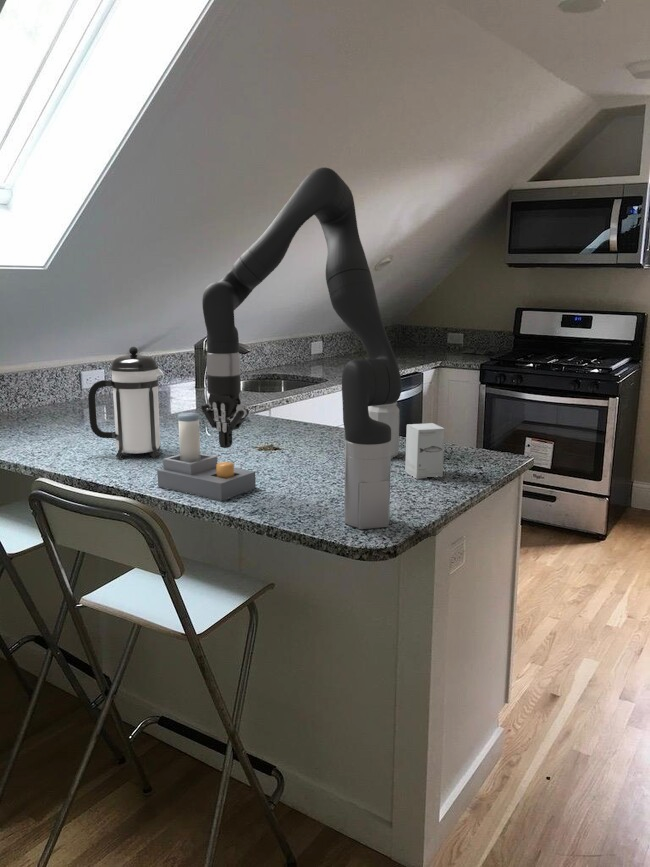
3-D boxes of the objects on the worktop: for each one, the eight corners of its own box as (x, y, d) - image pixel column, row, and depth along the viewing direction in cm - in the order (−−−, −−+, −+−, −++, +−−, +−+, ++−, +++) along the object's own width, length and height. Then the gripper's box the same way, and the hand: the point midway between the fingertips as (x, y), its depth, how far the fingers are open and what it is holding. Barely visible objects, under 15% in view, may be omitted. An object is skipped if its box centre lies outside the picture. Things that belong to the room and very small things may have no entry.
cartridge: (202, 469, 175) (200, 415, 172) (181, 471, 174) (178, 417, 171) (199, 464, 180) (198, 412, 177) (179, 465, 178) (177, 413, 175)
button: (237, 480, 171) (237, 463, 171) (226, 484, 168) (225, 467, 167) (224, 477, 174) (224, 461, 173) (213, 481, 170) (212, 464, 170)
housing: (255, 488, 174) (255, 461, 173) (221, 500, 164) (220, 472, 163) (193, 475, 185) (192, 449, 184) (158, 486, 175) (156, 460, 174)
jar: (401, 453, 208) (402, 389, 204) (395, 461, 199) (396, 395, 195) (367, 450, 210) (368, 388, 206) (359, 459, 201) (360, 393, 197)
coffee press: (142, 444, 217) (136, 342, 211) (177, 453, 207) (172, 346, 201) (90, 456, 204) (83, 347, 197) (125, 465, 194) (118, 351, 188)
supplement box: (416, 479, 181) (417, 429, 179) (404, 472, 188) (405, 423, 185) (443, 477, 183) (445, 427, 181) (431, 470, 190) (432, 422, 187)
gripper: (257, 372, 165) (258, 448, 169) (213, 368, 172) (215, 440, 176) (234, 377, 159) (236, 454, 163) (190, 371, 166) (193, 446, 170)
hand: (225, 447), depth 170 cm, fingers closed
